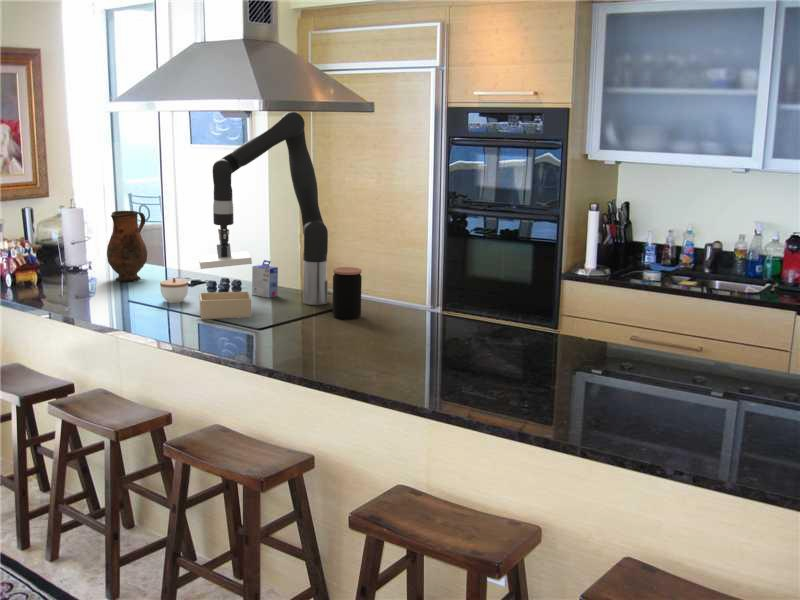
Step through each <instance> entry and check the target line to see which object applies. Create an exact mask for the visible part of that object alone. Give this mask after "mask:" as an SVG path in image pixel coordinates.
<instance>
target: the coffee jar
mask: <svg viewBox="0 0 800 600" xmlns="http://www.w3.org/2000/svg"><path fill="white" fill-rule="evenodd" d="M362 270H363V269H361V268H359V267H353V266H342V267H340V266H339V267H334V268H333V270H332V273H333V276H332V315H333V317H334V318H335V319H338V320H344V321H345V320H346V321H349V320H350V321H351V320H356V319H359V318H360V317H361V315H362V314H361V313H362V281H363V280H362V275H361V274H362Z"/></svg>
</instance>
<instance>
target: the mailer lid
mask: <svg viewBox="0 0 800 600" xmlns="http://www.w3.org/2000/svg"><path fill="white" fill-rule="evenodd" d="M231 250H232V249H231V243H229V242H228V247H227V257H222V256H221V244H220V243H218V244H216V252H217V254H216V253H215V254H205V255H199V256H198V263H199V266H200V269H201V270H205V269H213V268H224V267H225V268H226V267H234V266H243V265H245V266H246V265H252V264H253V261H252V256H251V255H250V253H249V251H247V250H246V251H238V252H235V251H234V252H232V251H231Z"/></svg>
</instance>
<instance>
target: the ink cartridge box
mask: <svg viewBox="0 0 800 600" xmlns="http://www.w3.org/2000/svg"><path fill="white" fill-rule="evenodd" d="M271 263H272V262H271V260H266V259H264V260H263V261H262V264H257V265H252V267H251V268H252V271H251V273H252V274H251V276H252V278H251V284H252V285H251V295H254V296H259V297H261V298H262V297H263V298H269V299H270V298H274V297H275V298H276V297H278V293H279V292H278V291H279V289H278V286H279V282H278V281H279V280H278V279H279V276H278V275H279V268H278V266H277V267H276V266H270V265H271Z"/></svg>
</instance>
